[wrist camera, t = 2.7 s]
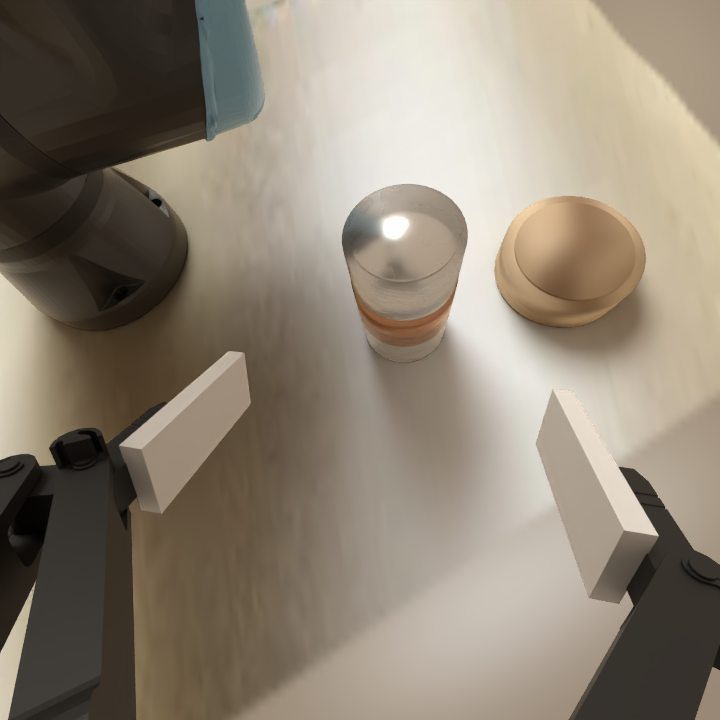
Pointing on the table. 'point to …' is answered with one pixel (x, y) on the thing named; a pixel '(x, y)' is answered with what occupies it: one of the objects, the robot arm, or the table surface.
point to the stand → (568, 261)
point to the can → (404, 267)
